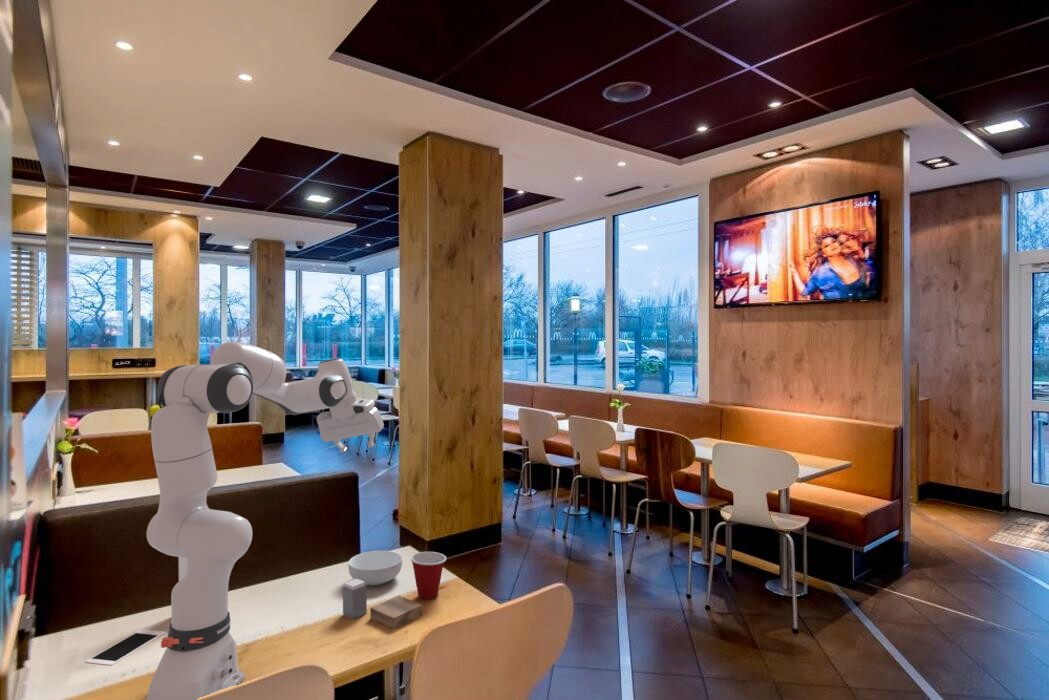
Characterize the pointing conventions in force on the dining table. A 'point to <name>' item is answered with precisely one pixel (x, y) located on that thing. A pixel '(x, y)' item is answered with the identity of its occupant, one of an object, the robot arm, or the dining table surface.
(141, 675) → the dining table surface
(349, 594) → the salt shaker
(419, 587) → the plastic cup
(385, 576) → the cereal bowl
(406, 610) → the base block
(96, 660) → the cell phone
